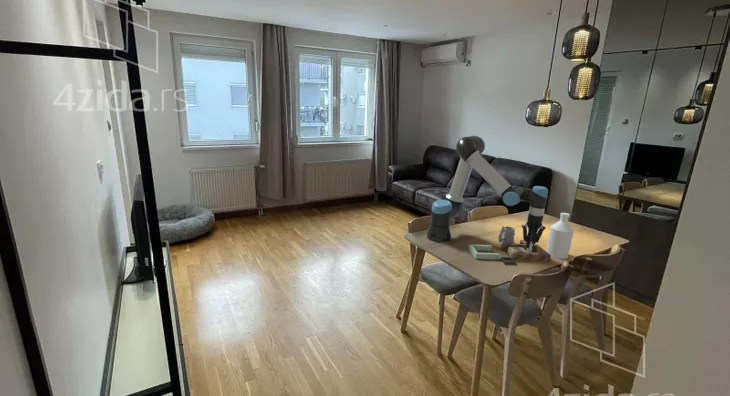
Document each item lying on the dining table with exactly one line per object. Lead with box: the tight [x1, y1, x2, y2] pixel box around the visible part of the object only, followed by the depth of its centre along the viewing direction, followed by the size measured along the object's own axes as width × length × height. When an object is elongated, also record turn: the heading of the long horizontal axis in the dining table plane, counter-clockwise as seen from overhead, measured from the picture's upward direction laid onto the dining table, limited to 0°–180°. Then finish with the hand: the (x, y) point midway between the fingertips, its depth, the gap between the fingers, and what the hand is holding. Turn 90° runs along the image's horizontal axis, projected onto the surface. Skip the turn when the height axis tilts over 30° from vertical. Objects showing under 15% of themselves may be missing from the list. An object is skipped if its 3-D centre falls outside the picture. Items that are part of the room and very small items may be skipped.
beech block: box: [507, 247, 528, 257], centre depth 198 cm, size 8×6×4 cm
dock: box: [467, 243, 501, 260], centre depth 198 cm, size 13×13×3 cm
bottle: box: [545, 212, 575, 260], centre depth 199 cm, size 12×12×25 cm
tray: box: [499, 256, 517, 265], centre depth 189 cm, size 6×6×1 cm
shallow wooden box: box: [500, 243, 552, 262], centre depth 199 cm, size 22×15×4 cm
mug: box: [497, 225, 516, 244], centre depth 213 cm, size 8×12×12 cm, turn 117°
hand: (528, 253), depth 199 cm, fingers closed
